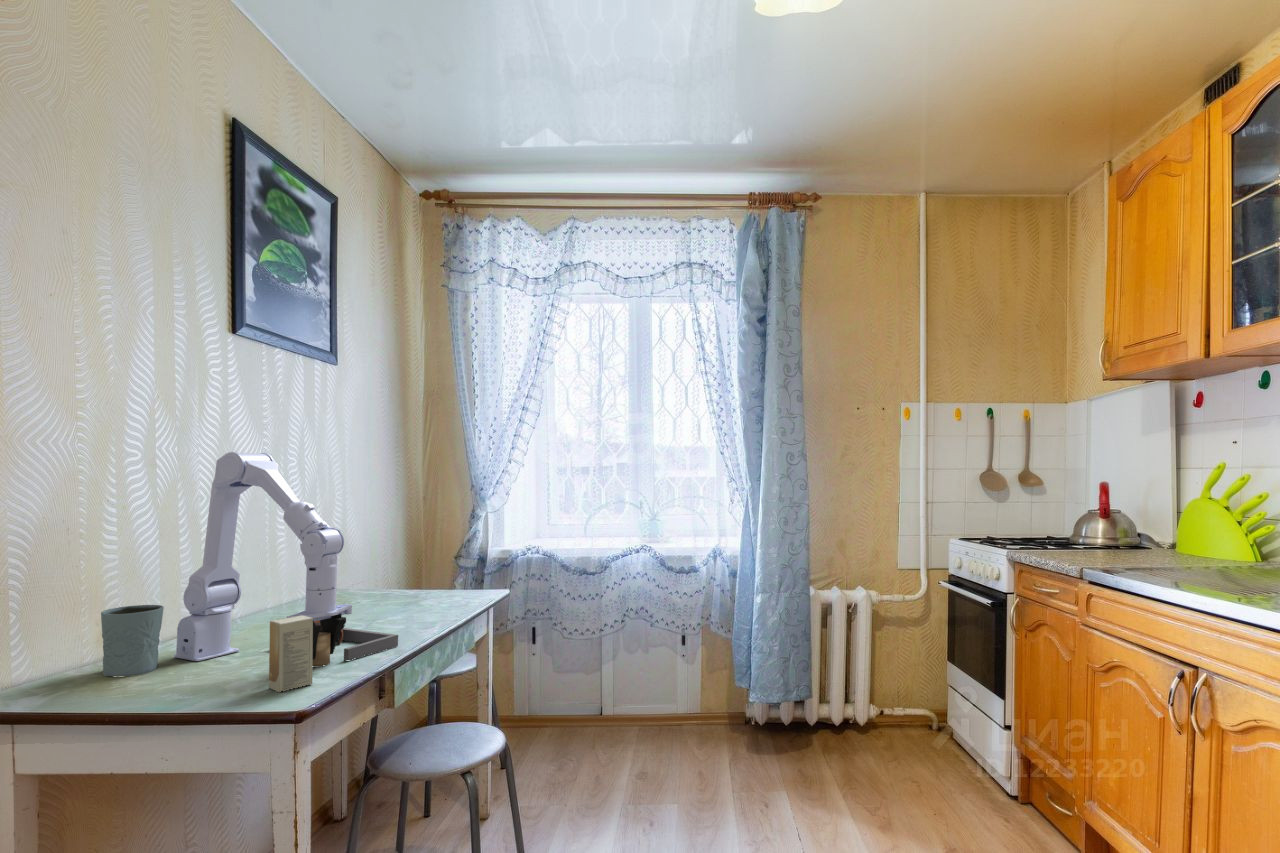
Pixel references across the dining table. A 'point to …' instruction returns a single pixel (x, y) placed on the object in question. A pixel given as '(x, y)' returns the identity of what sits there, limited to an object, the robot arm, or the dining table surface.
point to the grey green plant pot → (131, 639)
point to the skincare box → (290, 653)
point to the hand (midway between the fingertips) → (319, 656)
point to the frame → (367, 642)
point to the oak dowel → (322, 649)
